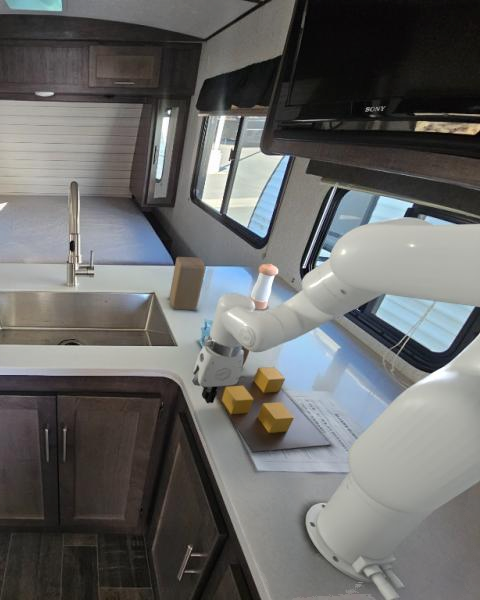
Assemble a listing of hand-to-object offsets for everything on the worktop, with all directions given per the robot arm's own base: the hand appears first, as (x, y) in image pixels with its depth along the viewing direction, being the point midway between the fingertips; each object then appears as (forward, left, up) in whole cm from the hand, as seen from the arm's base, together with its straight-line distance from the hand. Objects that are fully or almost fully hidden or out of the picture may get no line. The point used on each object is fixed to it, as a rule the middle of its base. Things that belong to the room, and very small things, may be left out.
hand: (207, 399), depth 85 cm
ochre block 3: (-7, -15, -3) cm, 17 cm away
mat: (-2, -15, -4) cm, 16 cm away
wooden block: (+55, -16, -4) cm, 58 cm away
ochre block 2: (+6, -22, -3) cm, 23 cm away
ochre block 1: (0, -8, -3) cm, 9 cm away
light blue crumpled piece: (+25, -14, -4) cm, 29 cm away
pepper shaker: (+52, -48, -4) cm, 71 cm away
